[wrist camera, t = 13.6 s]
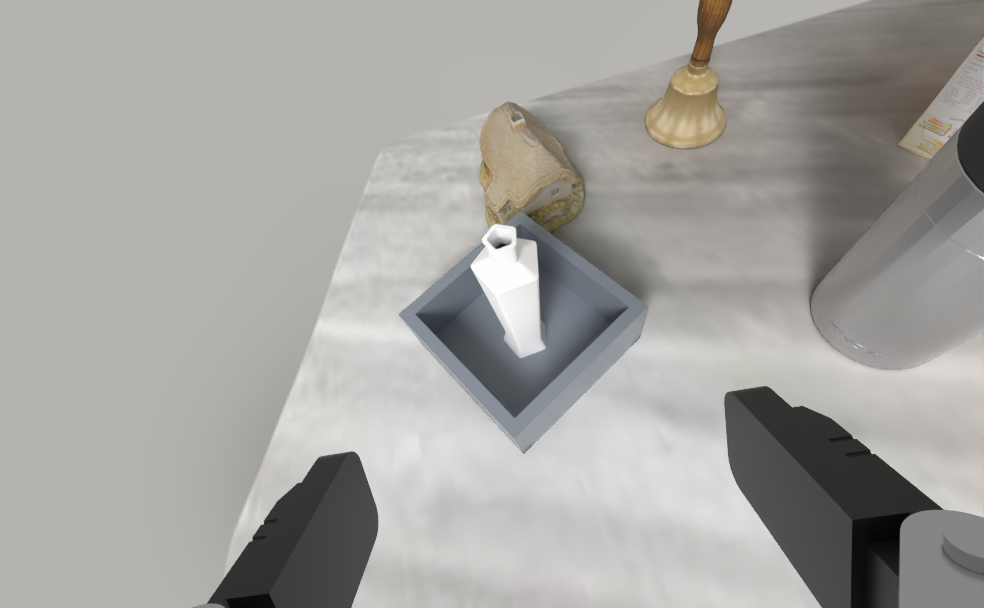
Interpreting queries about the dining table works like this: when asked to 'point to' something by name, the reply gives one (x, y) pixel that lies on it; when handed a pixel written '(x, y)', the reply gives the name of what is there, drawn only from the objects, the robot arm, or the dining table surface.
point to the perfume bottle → (512, 287)
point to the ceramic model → (526, 171)
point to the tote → (568, 324)
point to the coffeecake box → (949, 107)
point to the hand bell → (692, 90)
